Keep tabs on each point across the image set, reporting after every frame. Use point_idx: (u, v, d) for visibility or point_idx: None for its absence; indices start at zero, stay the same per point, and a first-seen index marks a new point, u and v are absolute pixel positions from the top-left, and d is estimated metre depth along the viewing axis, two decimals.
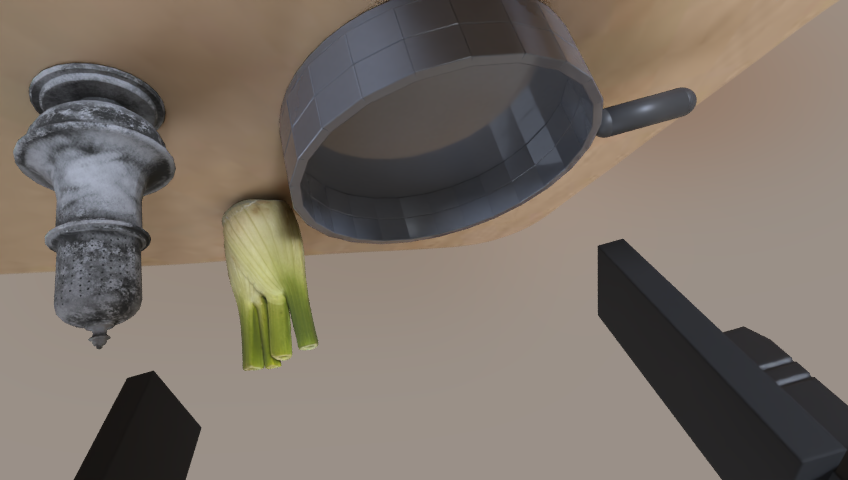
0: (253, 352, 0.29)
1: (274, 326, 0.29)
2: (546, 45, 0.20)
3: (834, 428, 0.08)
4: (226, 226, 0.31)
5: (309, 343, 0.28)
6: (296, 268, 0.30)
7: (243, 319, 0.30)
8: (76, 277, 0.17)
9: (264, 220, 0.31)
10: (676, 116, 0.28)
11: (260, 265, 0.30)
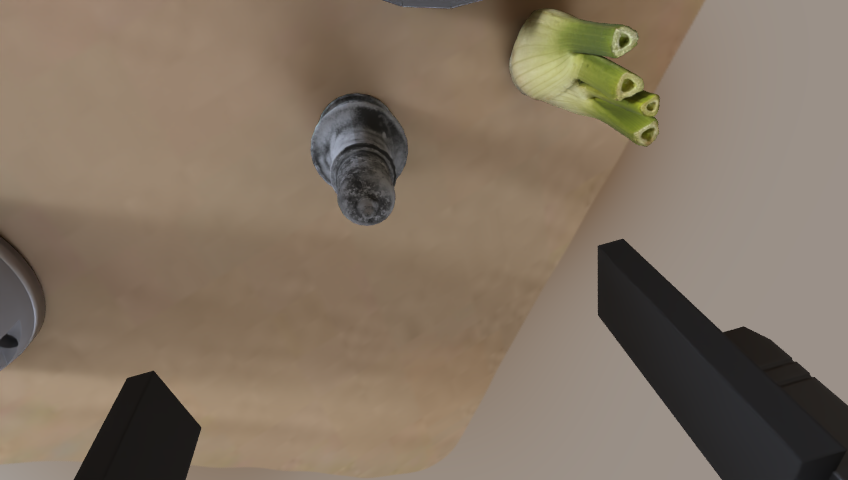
0: (626, 123, 0.21)
1: (594, 81, 0.21)
2: None
3: (834, 428, 0.08)
4: (524, 92, 0.28)
5: (611, 39, 0.18)
6: (555, 26, 0.22)
7: (599, 117, 0.23)
8: None
9: (519, 49, 0.26)
10: None
11: (545, 71, 0.24)
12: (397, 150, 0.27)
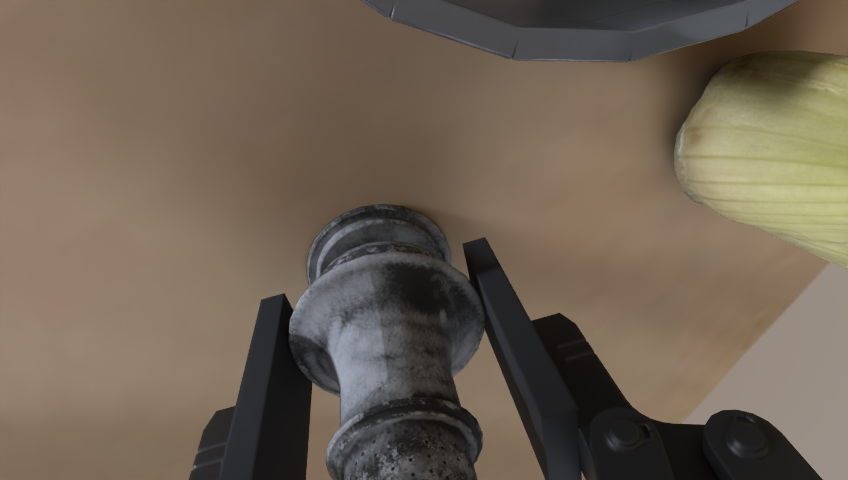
0: None
1: None
2: None
3: (592, 394, 0.09)
4: (705, 204, 0.15)
5: None
6: None
7: None
8: None
9: (721, 131, 0.13)
10: None
11: (823, 198, 0.10)
12: (465, 334, 0.13)
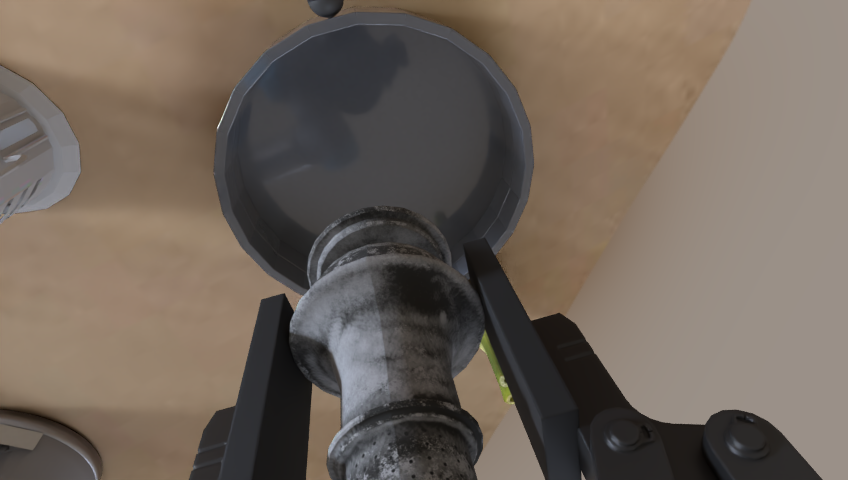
0: None
1: None
2: None
3: (592, 394, 0.09)
4: None
5: (499, 379, 0.27)
6: None
7: None
8: None
9: None
10: None
11: None
12: (465, 335, 0.13)
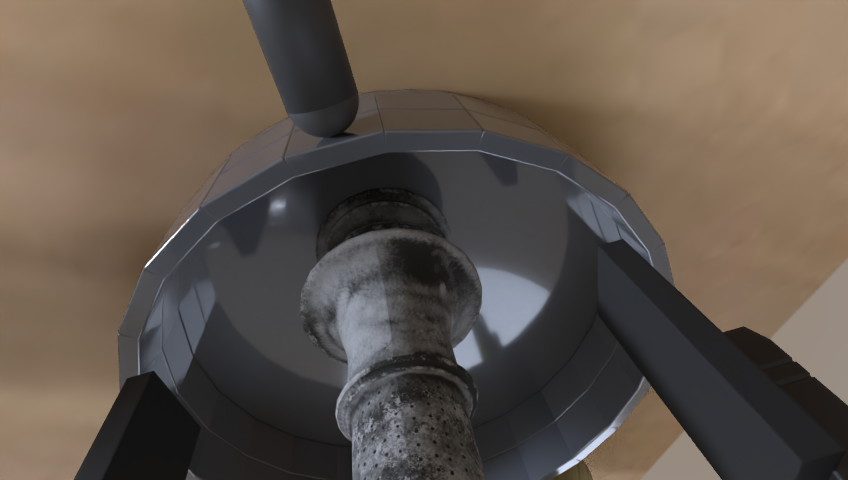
0: None
1: None
2: None
3: (833, 428, 0.08)
4: None
5: None
6: None
7: None
8: None
9: None
10: None
11: None
12: (464, 307, 0.14)
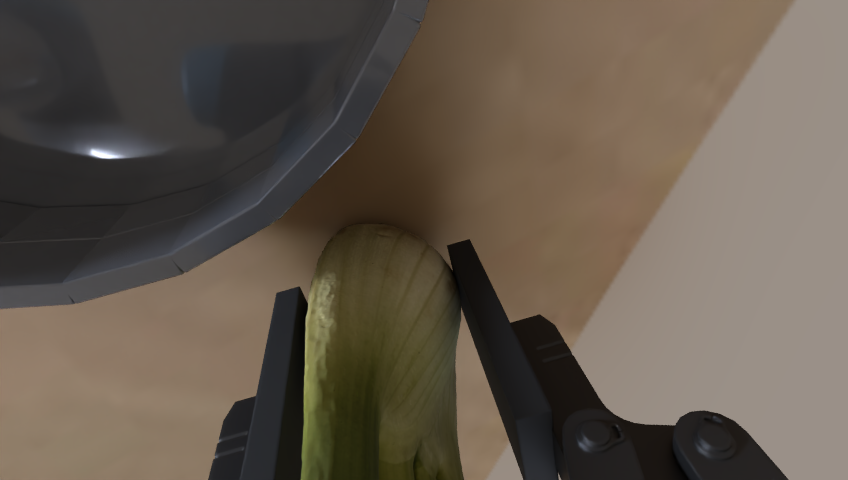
0: None
1: None
2: None
3: (567, 396, 0.09)
4: None
5: None
6: (305, 358, 0.09)
7: None
8: None
9: None
10: None
11: None
12: None
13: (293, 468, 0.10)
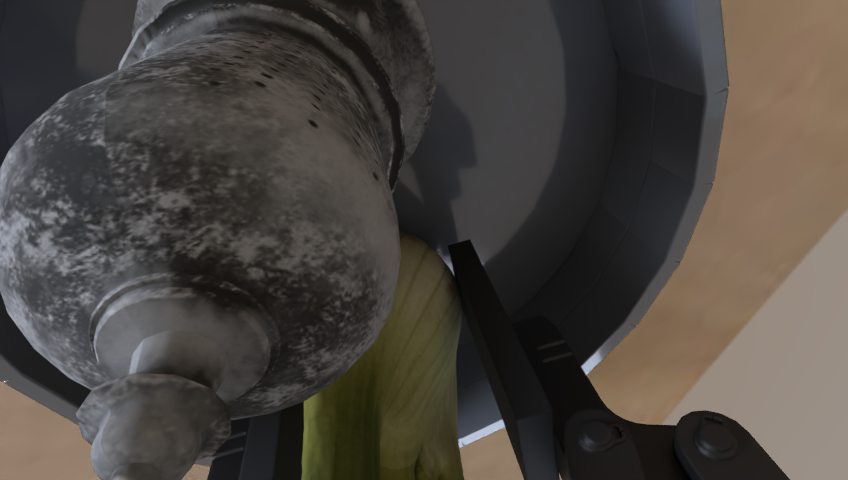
0: None
1: None
2: None
3: (569, 396, 0.09)
4: None
5: None
6: None
7: None
8: None
9: None
10: None
11: None
12: (405, 80, 0.09)
13: (292, 469, 0.10)
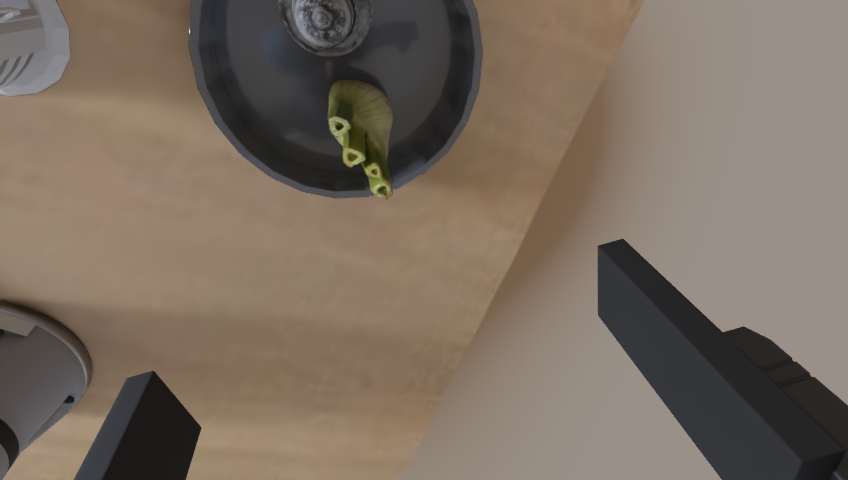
0: (370, 181, 0.27)
1: None
2: None
3: (834, 428, 0.08)
4: None
5: (329, 124, 0.24)
6: (329, 101, 0.28)
7: None
8: None
9: (328, 110, 0.32)
10: None
11: None
12: (361, 7, 0.28)
13: None
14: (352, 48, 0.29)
